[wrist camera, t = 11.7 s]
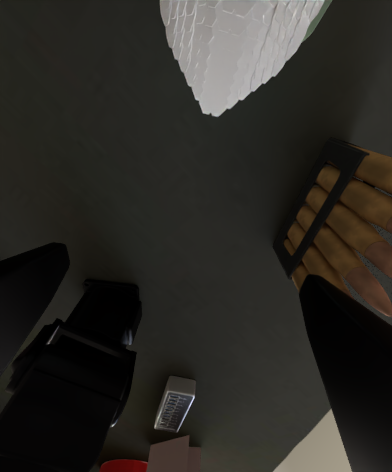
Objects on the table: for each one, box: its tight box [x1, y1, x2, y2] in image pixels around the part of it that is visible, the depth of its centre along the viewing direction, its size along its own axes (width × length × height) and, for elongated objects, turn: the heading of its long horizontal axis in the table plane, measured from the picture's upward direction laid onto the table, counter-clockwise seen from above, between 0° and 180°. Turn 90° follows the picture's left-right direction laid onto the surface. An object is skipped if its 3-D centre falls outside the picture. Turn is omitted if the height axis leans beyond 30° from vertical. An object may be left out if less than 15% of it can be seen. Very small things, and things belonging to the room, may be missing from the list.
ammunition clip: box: [273, 138, 392, 317], centre depth 15 cm, size 11×2×12 cm, turn 166°
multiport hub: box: [154, 376, 196, 432], centre depth 39 cm, size 4×14×2 cm, turn 166°
